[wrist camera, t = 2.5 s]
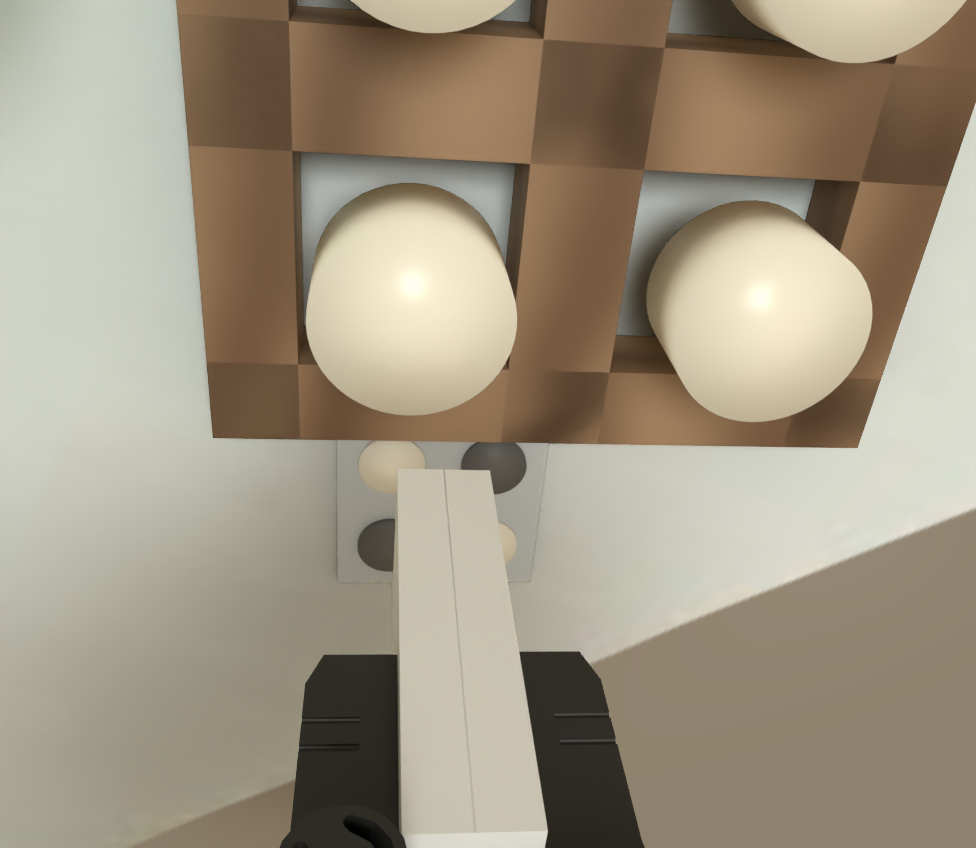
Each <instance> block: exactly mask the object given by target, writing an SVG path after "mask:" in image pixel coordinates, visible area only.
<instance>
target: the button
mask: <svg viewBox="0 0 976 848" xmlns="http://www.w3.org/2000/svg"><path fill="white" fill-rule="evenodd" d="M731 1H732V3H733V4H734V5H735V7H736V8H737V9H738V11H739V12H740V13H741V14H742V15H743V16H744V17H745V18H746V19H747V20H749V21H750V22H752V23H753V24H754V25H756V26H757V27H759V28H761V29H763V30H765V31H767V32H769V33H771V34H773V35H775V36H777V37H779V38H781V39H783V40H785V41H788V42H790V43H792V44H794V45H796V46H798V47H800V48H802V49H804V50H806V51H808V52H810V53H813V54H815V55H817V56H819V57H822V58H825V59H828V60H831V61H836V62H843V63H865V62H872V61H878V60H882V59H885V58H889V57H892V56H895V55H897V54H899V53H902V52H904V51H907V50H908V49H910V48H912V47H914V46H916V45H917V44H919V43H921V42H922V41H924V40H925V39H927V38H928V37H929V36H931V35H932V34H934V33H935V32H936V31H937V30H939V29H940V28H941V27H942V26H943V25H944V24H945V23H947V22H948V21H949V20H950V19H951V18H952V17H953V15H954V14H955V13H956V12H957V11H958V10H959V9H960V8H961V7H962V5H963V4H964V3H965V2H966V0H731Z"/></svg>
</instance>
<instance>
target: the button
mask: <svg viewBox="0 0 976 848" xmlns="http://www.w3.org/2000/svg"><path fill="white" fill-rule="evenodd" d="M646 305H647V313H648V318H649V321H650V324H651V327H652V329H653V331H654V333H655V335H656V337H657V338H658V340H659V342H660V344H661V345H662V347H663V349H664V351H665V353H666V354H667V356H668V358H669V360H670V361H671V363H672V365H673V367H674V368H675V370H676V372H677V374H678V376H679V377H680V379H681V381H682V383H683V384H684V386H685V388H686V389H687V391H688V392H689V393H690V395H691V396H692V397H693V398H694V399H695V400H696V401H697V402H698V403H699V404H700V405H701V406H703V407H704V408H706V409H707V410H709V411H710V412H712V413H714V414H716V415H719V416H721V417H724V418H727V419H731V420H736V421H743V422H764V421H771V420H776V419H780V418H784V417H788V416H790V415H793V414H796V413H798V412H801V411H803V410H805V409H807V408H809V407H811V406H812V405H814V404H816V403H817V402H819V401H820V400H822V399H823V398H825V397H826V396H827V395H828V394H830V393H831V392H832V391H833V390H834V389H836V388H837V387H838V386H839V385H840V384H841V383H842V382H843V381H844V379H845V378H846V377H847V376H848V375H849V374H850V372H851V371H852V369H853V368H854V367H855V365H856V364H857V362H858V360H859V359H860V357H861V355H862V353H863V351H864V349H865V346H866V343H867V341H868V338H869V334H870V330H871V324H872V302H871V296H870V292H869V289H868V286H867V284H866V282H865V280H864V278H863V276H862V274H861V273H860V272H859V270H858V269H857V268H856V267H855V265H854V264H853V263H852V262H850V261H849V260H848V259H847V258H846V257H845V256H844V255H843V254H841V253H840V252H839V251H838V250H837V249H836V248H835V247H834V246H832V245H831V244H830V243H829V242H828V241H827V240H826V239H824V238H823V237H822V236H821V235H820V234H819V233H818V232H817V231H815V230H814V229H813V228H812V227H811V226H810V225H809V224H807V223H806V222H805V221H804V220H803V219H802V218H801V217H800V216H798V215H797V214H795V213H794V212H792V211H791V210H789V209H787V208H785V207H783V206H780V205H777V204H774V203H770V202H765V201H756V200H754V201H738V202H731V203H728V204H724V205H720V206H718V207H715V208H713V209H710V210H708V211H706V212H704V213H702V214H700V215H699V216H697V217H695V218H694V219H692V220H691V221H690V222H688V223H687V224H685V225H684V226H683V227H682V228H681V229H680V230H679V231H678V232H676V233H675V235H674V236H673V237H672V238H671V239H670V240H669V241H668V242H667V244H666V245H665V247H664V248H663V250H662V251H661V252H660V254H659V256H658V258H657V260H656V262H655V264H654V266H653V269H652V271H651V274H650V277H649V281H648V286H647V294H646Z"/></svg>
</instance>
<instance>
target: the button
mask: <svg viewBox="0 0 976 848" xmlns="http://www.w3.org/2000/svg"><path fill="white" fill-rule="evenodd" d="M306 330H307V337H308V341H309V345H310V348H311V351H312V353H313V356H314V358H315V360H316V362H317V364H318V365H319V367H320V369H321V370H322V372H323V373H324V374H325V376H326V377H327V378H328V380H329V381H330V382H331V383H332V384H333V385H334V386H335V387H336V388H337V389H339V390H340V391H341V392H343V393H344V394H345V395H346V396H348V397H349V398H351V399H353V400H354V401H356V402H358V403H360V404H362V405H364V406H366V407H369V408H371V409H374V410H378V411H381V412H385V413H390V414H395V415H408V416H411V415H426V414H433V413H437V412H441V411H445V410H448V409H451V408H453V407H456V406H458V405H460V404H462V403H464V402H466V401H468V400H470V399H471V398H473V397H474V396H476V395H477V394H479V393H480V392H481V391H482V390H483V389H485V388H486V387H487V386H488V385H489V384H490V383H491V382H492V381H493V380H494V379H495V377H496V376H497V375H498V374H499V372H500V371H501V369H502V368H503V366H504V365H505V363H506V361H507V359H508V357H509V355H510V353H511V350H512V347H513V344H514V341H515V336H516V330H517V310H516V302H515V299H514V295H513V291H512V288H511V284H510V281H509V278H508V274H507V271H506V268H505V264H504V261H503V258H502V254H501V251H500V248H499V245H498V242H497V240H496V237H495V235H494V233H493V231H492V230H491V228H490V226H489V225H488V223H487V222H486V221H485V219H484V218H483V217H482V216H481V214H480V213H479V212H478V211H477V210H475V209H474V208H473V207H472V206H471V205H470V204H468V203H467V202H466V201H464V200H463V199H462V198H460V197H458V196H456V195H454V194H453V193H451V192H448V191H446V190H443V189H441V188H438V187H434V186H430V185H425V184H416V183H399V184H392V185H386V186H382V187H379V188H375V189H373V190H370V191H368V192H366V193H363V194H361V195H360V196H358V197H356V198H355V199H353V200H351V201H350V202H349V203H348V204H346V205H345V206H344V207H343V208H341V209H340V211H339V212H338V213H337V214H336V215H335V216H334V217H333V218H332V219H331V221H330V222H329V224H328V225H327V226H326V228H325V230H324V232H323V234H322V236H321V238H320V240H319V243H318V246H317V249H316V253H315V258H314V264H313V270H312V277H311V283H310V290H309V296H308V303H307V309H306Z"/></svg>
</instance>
